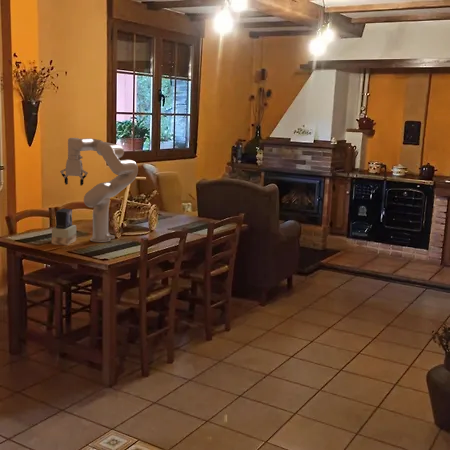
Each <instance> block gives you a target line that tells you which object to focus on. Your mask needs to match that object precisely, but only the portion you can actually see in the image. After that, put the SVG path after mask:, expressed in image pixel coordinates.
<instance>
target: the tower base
mask: <svg viewBox="0 0 450 450" xmlns="http://www.w3.org/2000/svg"><path fill="white" fill-rule="evenodd" d="M76 241H77V233H76V234H74V235H72V236H71V237H69V238H59V237H52V236H51V245H55V246H57V245H58V246H69V245H71V244H72V243H74V242H76Z"/></svg>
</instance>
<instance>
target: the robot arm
mask: <svg viewBox="0 0 450 450" xmlns="http://www.w3.org/2000/svg"><path fill="white" fill-rule="evenodd" d="M87 151H94V152H96V153H97V155H98V156H102V158H103V160H104V161H105V163H106V165H107V166H108V168H109V169H110V171H111V172H112V173H113V174H114V175H117V176H115V177H114V178H112V180H110V181H106V182H100V183H97V184H96V185H95V186H94V187H93V186H92V188H90V190H88V191H87V192H86V193H85V195H84V196H83V203H84V205H85V206H86V207H88V208H93V209H92V236H91V237H90V239H89V240H90V241H91V242H93V243H107V242H111V241H112V240H111V239H115V237H116V236H115V235H114V234H110V232H109V211H110V209H109V208H110V202H111V198H113V197H115V196H117V195H118V194H119V193H121V191H123V190H124V189H125V188H127V187H128V186H129V185H131V184H132V183H133V182H134V181H135V180H136V178H137V176H138V172H139V167H138V164H137V162H136V161H135V160H132V159H121V160H120V158H123V156H124V154H125V150H124V147H123V146H121V145H120V144H116V143H111V142H107V141H103V140H100V139H96V138H91V137H90V138H87V137H86V138H78V137H69V138H68V139H67V159H66V163H65V168H63V169H62V170H60V174H61V176H62V177H63V179H64V184H65V185H68V184H69V179H68V177H70V176H71V177H79V178H80V180H79V183H80V184H79V186H83V185H84V180H85V178H86V177H87V176H88V174H89V173H88V171H86V170H85V169H83V161H82V160H81V159H83V158H84V157H83V156H82V155H81V152H87ZM64 172H65V173H64ZM83 174H84V175H83Z"/></svg>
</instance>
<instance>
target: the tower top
mask: <svg viewBox="0 0 450 450" xmlns="http://www.w3.org/2000/svg"><path fill="white" fill-rule="evenodd" d="M74 234H76V235H77V225H75V224H72V226H70V227H68V228H66V229H62V228H56V226H54V227H53V228H51V238H52V237H59V238H69V237H71V236H72V235H74Z"/></svg>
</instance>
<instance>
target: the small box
mask: <svg viewBox="0 0 450 450" xmlns="http://www.w3.org/2000/svg"><path fill="white" fill-rule="evenodd" d="M72 225H73V209H71V208H61V209H58V210H56V211H55V227H56V228H62V229H66V228H68V227H70V226H72Z"/></svg>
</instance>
